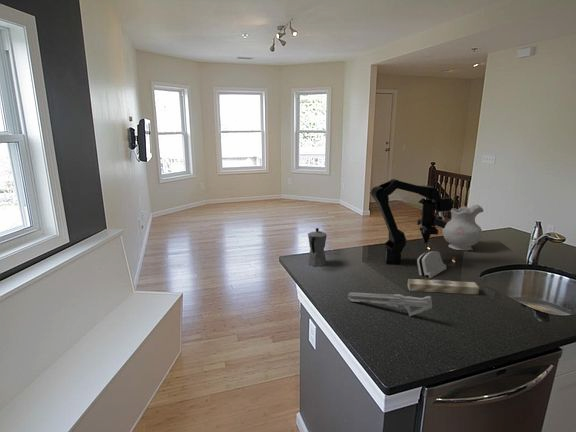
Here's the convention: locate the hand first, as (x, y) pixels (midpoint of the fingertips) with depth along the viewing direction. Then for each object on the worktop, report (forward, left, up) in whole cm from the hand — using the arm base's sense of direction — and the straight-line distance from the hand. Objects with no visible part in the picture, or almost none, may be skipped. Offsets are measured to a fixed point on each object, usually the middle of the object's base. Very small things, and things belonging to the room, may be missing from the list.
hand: (425, 243), depth 173 cm
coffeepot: (-53, -12, -9) cm, 55 cm away
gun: (-23, -53, -9) cm, 59 cm away
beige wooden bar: (0, -34, -9) cm, 35 cm away
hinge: (0, -14, -9) cm, 16 cm away
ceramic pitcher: (+22, +23, -9) cm, 33 cm away
